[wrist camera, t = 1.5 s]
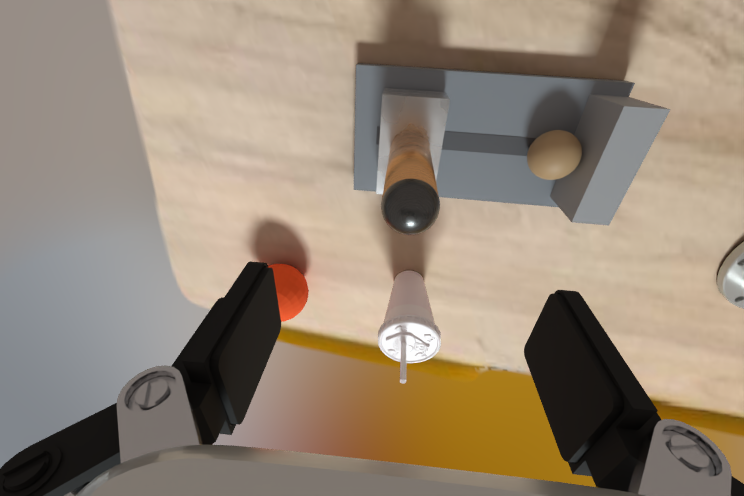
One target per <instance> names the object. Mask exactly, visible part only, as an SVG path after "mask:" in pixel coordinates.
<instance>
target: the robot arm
mask: <svg viewBox="0 0 744 496" xmlns="http://www.w3.org/2000/svg"><path fill="white" fill-rule="evenodd" d="M717 286H718V289H719V291H720V293H721V294H722V295H723V297H725V298H726V299H727V300H728V301H729V302H730V303H732V304H733V305H735V306H737V307H739V308H743V309H744V241H743V242H742V243H741V244H740V245H739V246H737V247H736V248H735V249H734V250H733V251H732V252H731V254H730V255H729V256H728V257H727V258H726V260H725V261H724V263H723V264H722V266H721V268H720V270H719V273H718V276H717ZM280 329H281V318H280V311H279V305H278V298H277V292H276V286H275V279H274V273H273V269H272V268H268V265H267V263H260V262H248V263H247V265H246V266H245V268H244V269H243V271H242V272H241V274H240V275H239V277H238V278H237V279H236V281H235V282H234V284H233V285H232V287H231V288H230V290H229V291H228V293H227V294H226V296H225V297H224V298H220V299H218V300H217V302H216V303H215V304H214V306H213V307H212V308H211V310H210V311H209V313H208V314H207V316H206V317H205V319H204V320H203V321H202V323H201V324H200V326H199V327H198V329H197V330H196V331H195V333H194V334H193V336H192V337H191V339H190V340H189V342H188V343H187V345H186V346H185V347H184V349H183V350H182V352H181V353H180V355H179V356H178V357H177V359H176V361H175V362H174V363H173V365H172V366H157V367H153V368H150V369H147V370H145V371H143V372H141V373H139V374H138V375H136V376H135V377H134V378H132V379H131V380H130V381H129V382H128V383H127V384H126V385H125V386H124V387H123V389H122V390H121V392H120V394H119V396H118V399H117V403H115V404H113V405H111V406H109V407H107V408H106V409H104V410H102V411H99V412H98V413H95V414H94V415H91V416H89V417H88V418H85V419H83V420H81V421H80V422H77V423H75V424H73V425H71V426H69V427H67V428H65V429H63V430H61V431H59V432H57V433H55V434H53V435H51V436H49V437H47V438H45V439H43V440H41V441H39V442H37V443H35V444H33V445H31V446H30V447H28V448H26V449H24V450H23V451H21V452H19V453H18V454H16V455H15V456H14V457H13V458H11V459H10V460H9V461H8V462H6V463H5V464H4V465H3V466H2V467H1V469H0V496H744V484H743V483H741V482H740V481H738V480H737V479H735V478H734V477H732V476H731V475H732V474H731V469H730V465H729V463H728V461H727V459H726V457H725V455H724V454H723V453H722V452H721V450H720V449H719V448H718V447H717V446H716V445H715V444H714V443H713V442H712V441H711V440H710V439H709V438H708V437H707V436H705V435H704V434H702V433H701V432H700V431H698V430H697V429H695V428H693V427H691V426H689V425H687V424H685V423H683V422H680V421H676V420H672V419H664V420H661V418H660V417H659V415H658V414H657V409H656V407H655V406H654V404H653V403H652V401H651V400H650V398H649V397H648V395H647V394H646V392H645V391H644V389H643V388H642V386H641V385H640V383H639V382H638V380H637V379H636V377H635V376H634V374H633V373H632V371H631V370H630V368H629V367H628V365H627V364H626V362H625V361H624V359H623V358H622V356H621V355H620V353H619V352H618V350H617V349H616V347H615V346H614V344H613V343H612V341H611V340H610V338H609V337H608V335H607V334H606V332H605V331H604V329H603V328H602V326H601V325H600V323H599V322H598V320H597V319H596V317H595V316H594V314H593V313H592V311H591V310H590V308H589V307H588V305H587V304H586V302H585V301H584V299H583V298H582V296H581V295H580V294H579V292H576V291H566V290H557V291H556V292H555V293H554V294H550V296H549V297H548V299H547V301H546V303H545V305H544V308H543V310H542V312H541V314H540V316H539V318H538V320H537V322H536V324H535V326H534V328H533V330H532V332H531V335H530V337H529V339H528V341H527V343H526V345H525V348H524V355H525V359H526V361H527V364H528V367H529V369H530V372H531V375H532V378H533V380H534V383H535V386H536V388H537V391H538V394H539V396H540V399H541V402H542V405H543V407H544V410H545V413H546V415H547V418H548V421H549V424H550V427H551V429H552V432H553V435H554V437H555V440H556V443H557V446H558V448H559V451H560V454H561V456H562V458H563V459H564V460H565V461H567V462H568V463H569V466H570V468H571V471H572V473H573V474H577V475H587V476H592V477H593V480H594V482H595V484H596V487H590V486H583V485H575V484H568V483H561V482H553V481H545V480H537V479H528V478H520V477H512V476H504V475H495V474H487V473H479V472H470V471H462V470H452V469H445V468H435V467H427V466H419V465H409V464H401V463H393V462H383V461H374V460H366V459H358V458H349V457H339V456H330V455H321V454H312V453H303V452H294V451H285V450H274V449H262V448H251V447H241V446H227V445H226V446H225V445H212V444H213V443H214V442H216V440H217V438H218V435H219V433H220V434H228V435H232V433H233V430H234V428H235V426H236V424H241V423H242V421H243V419H244V417H245V415H246V412H247V410H248V407H249V405H250V402H251V400H252V398H253V395H254V393H255V391H256V388H257V386H258V383H259V381H260V379H261V376H262V374H263V371H264V369H265V367H266V364H267V362H268V359H269V357H270V354H271V352H272V350H273V347H274V345H275V342H276V340H277V338H278V335H279V333H280Z"/></svg>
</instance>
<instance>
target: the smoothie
mask: <svg viewBox="0 0 744 496" xmlns="http://www.w3.org/2000/svg"><path fill="white" fill-rule="evenodd" d="M440 339H441V334H440V331H439V329H438V327H437V326H436V325H435V322H434V318H433V315H432V311H431V307H430V303H429V299H428V295H427V291H426V287H425V283H424V279H423V277H422V276H421V275H420V274H419V273H417V272H415V271H410V270H408V271H403V272H400V273H399V274H398V275H397V276H396V277H395V280H394V284H393V288H392V292H391V296H390V300H389V304H388V308H387V312H386V316H385V319H384V323H383V324H382V325H381V327H380V329H379V332H378V344H379V347H380V349H381V351H382V352H383V353H384V354H385V355H386V356H388V357H389V358H391V359H393V360H396V361H399V362H400V382H401V383H406V363H418V362H422V361H426V360H428V359H430V358H432V357H433V356H434V355H435V354H436V353H437V352H438V351H439V349H440V346H441V340H440Z"/></svg>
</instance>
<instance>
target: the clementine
mask: <svg viewBox="0 0 744 496" xmlns="http://www.w3.org/2000/svg"><path fill="white" fill-rule="evenodd" d="M268 268H272V269H273V273H274V279H275V286H276V292H277V298H278V305H279V311H280V318H281V322H282V321H286V320H289V319H291V318H294V317H295V316H296V315H297V314H298V313H300V312H301V311H302V309H303V307H304V306H305V304H306V302H307V298H308V291H309V290H308V286H307V282H306V279H305V278H304V276H303V275H302V274H301V273H300V272H299V271H298V270H297V269H296V268H294V267H292V266H290V265H286V264H273V265H269V266H268Z"/></svg>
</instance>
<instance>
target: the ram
mask: <svg viewBox="0 0 744 496" xmlns="http://www.w3.org/2000/svg"><path fill="white" fill-rule="evenodd" d="M449 103H450V98H449V97H448V95H447V93H446V92H438V91H424V90H409V89H395V88H385V89H384V92H383V94H382V107H381V123H380V140H379V156H378V172H377V188H376V194H383V196H382V203H381V210H382V214H383V217H384V220H385V221H386V223H387V224H388V225H389V226H390V227H391V228H392V229H393V230H395V231H396V232H398V233H401V234H404V235H416V234H420V233H422V232H424V231H426V230H427V229H429V228H430V227H431V226H432V225H433V224H434V222H435V221H436V219H437V217H438V214H439V210H440V201H439V196H438V190H437V184H436V179H437V173H438V167H439V161H440V155H441V150H442V144H443V138H444V132H445V126H446V120H447V114H448V109H449Z"/></svg>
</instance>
